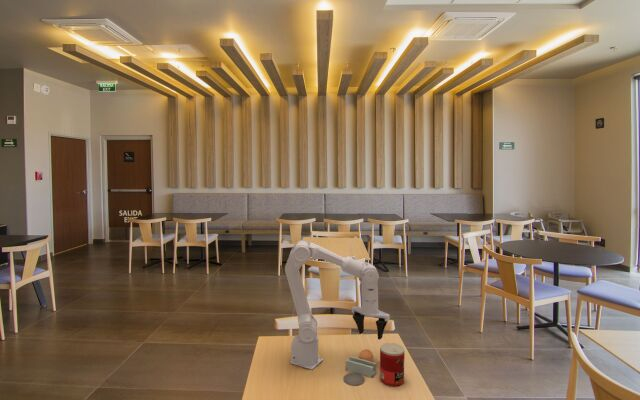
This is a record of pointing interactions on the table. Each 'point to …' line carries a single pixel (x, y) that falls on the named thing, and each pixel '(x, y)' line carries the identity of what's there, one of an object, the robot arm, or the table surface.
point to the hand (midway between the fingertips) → (370, 335)
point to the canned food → (392, 364)
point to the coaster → (354, 379)
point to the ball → (366, 355)
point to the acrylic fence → (361, 366)
